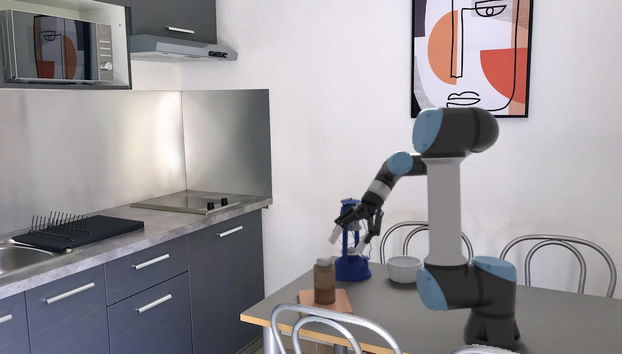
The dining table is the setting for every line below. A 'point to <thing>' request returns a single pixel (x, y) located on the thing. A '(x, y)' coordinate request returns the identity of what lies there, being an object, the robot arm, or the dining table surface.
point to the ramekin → (403, 268)
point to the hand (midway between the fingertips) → (344, 246)
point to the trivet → (340, 305)
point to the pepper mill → (324, 281)
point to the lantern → (351, 252)
